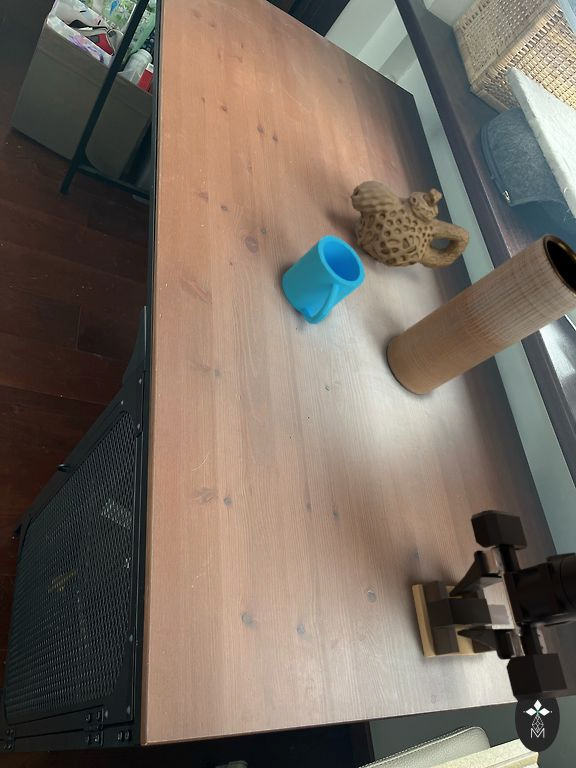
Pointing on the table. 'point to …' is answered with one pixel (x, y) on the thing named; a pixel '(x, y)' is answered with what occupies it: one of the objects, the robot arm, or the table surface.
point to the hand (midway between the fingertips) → (455, 614)
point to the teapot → (404, 227)
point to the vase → (487, 316)
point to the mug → (323, 278)
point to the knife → (465, 613)
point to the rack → (444, 639)
